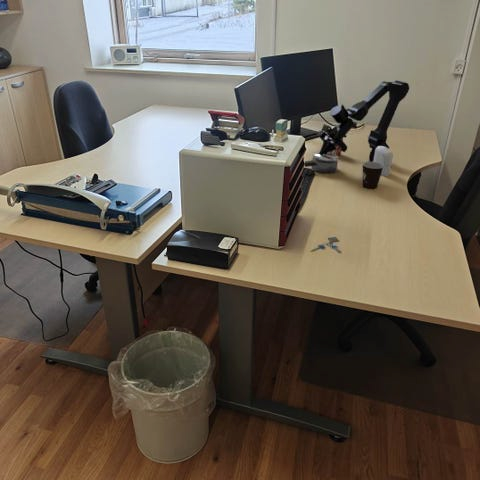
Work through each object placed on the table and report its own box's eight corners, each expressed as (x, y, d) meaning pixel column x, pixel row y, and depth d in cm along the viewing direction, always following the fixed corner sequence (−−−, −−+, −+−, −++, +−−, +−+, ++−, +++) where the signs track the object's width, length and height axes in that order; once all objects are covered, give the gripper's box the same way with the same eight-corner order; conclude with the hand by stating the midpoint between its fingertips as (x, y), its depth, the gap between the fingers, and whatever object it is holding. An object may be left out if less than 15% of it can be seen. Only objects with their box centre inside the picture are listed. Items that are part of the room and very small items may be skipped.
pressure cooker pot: (327, 163, 220) (328, 154, 217) (341, 171, 210) (342, 161, 208) (295, 168, 213) (296, 158, 211) (308, 176, 204) (309, 166, 201)
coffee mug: (380, 191, 190) (384, 169, 185) (359, 189, 192) (363, 167, 187) (378, 181, 200) (382, 160, 195) (358, 179, 201) (362, 158, 197)
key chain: (330, 236, 155) (331, 234, 155) (352, 244, 151) (352, 241, 150) (309, 252, 146) (310, 249, 145) (332, 260, 141) (332, 258, 141)
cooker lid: (329, 153, 217) (330, 149, 216) (343, 161, 208) (344, 156, 207) (308, 154, 213) (309, 149, 211) (321, 161, 203) (322, 156, 202)
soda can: (337, 157, 228) (340, 134, 222) (325, 155, 232) (327, 132, 226) (343, 154, 233) (346, 131, 227) (331, 151, 237) (333, 129, 231)
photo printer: (390, 175, 207) (395, 150, 200) (382, 176, 205) (387, 150, 199) (378, 168, 215) (382, 143, 209) (370, 169, 214) (374, 144, 208)
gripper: (322, 113, 209) (300, 138, 211) (345, 123, 194) (321, 150, 196) (334, 128, 216) (312, 152, 217) (357, 138, 201) (334, 165, 202)
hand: (319, 154), depth 208 cm, fingers closed, pressing on cooker lid
